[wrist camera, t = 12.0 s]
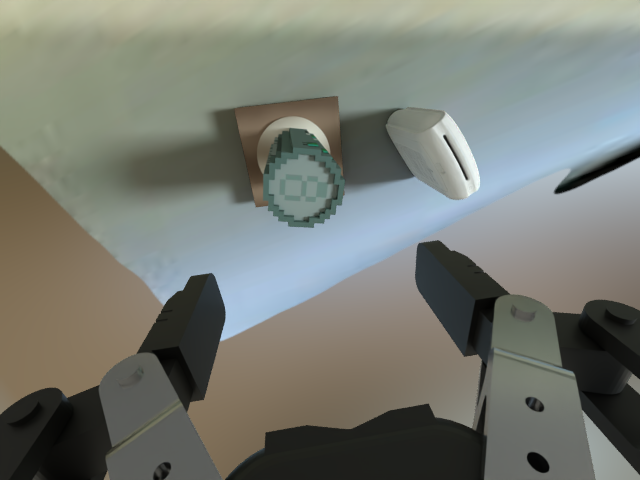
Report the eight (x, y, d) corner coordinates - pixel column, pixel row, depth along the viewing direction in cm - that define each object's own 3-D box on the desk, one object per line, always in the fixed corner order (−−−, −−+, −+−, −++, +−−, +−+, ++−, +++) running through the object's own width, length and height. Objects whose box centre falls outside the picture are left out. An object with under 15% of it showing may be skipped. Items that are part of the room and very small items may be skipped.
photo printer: (440, 163, 41) (497, 187, 30) (415, 182, 42) (461, 212, 31) (406, 101, 37) (458, 102, 26) (379, 123, 37) (418, 133, 26)
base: (237, 107, 35) (233, 108, 32) (333, 96, 35) (338, 96, 32) (257, 200, 40) (255, 208, 37) (340, 188, 41) (345, 196, 38)
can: (318, 181, 36) (338, 228, 23) (270, 177, 36) (262, 225, 22) (323, 131, 34) (349, 152, 20) (271, 125, 33) (263, 144, 20)
